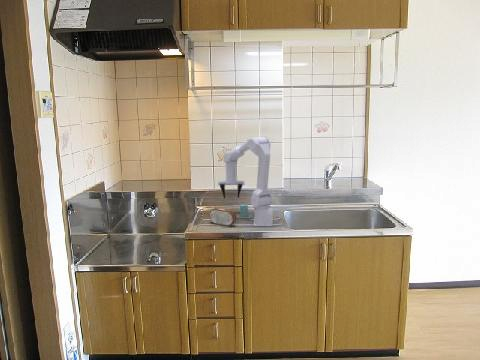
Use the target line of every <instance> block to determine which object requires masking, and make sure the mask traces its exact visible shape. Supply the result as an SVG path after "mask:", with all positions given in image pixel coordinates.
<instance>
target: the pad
mask: <svg viewBox="0 0 480 360" xmlns="http://www.w3.org/2000/svg"><path fill="white" fill-rule="evenodd" d="M235 215H236V221H237V220H240V221H241V220H243V221H244V220H253V213H248V217H240V213H235Z"/></svg>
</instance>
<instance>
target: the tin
mask: <svg viewBox="0 0 480 360" xmlns="http://www.w3.org/2000/svg"><path fill="white" fill-rule="evenodd" d="M208 215H209V219H210V221H211V222H212V223H213V224H215V225H220V226H226V227H230V226H232V225H235V223H236V221H237V220H236V213H235V211H233V209H230V208H229V209H228V208H223V207H216V206H215V207H213V209H211V210H210V211H209V213H208Z"/></svg>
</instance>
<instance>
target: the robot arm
mask: <svg viewBox="0 0 480 360" xmlns="http://www.w3.org/2000/svg"><path fill="white" fill-rule="evenodd" d="M249 150H250V152H252V153H253V154H254V155H255V156H257V157H258V162H257V177H256V178H257V179H256V188H255V189H254V190H253V192H252V195H251V197H250V203H251V204H250V205H251V206H252V208H254V210H253V211H254V212H253V213H254V214H253V215H254V216H253V217H254V218H253V219H254V221H253V227H273V226H274V225H273V222H274V217H273V214H274V213H273V212H274V211H273V210H274V209H273V207H270V206H271V205H272V203H273V197H272V191H271V190H270V189H268V188H269V187H268V186H269V175H270V164H271V163H270V162H271V161H270V160H271V141H270V140H269V138H268V137H267V136H262V137H250V138H249V139H247V140H246V141H245V142H244V143H243V144H242V145H236V146H234V148H233V149H230V151H225V152H224V154H223V162H225V180H218V181H217V186H219V187H220V190H221V192H222V195H223V199H225V198H226V191H225V190H226V186H237V199H240V194H241V191H242V188H243V186H245V180H237V165H238V161H239V159H240V158H241V157H243V156H244V155H245V152H247V151H249Z"/></svg>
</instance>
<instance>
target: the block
mask: <svg viewBox="0 0 480 360" xmlns="http://www.w3.org/2000/svg"><path fill="white" fill-rule="evenodd" d="M239 206H240V207H239V212H240V213H239V214H240V217H248V214H249V213H248V212H249V210H248V208H249V207H248V206H249V204H248V203H247V204H246V203H242V204H239Z"/></svg>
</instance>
